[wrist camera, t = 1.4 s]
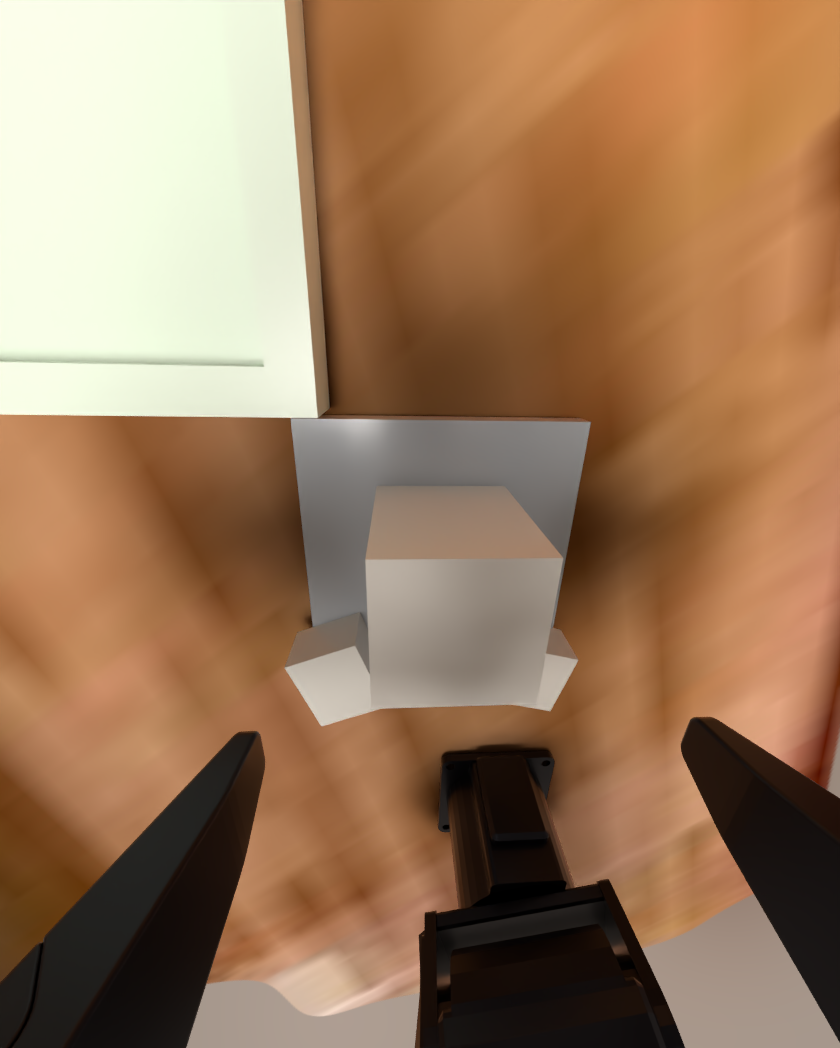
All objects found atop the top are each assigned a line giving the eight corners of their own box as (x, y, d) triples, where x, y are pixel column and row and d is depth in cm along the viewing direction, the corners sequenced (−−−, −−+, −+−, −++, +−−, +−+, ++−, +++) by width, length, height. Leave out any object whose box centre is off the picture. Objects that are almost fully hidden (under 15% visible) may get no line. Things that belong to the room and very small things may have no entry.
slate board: (543, 666, 21) (567, 718, 18) (308, 672, 20) (293, 727, 17) (588, 418, 16) (632, 432, 13) (278, 414, 15) (249, 428, 12)
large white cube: (492, 594, 18) (536, 704, 12) (379, 595, 17) (371, 708, 12) (504, 485, 16) (563, 557, 10) (376, 485, 15) (365, 559, 10)
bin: (329, 408, 15) (317, 417, 13) (-50, 403, 14) (-135, 412, 12) (291, -160, 10) (258, -319, 7) (-315, -216, 9) (-559, -412, 7)
